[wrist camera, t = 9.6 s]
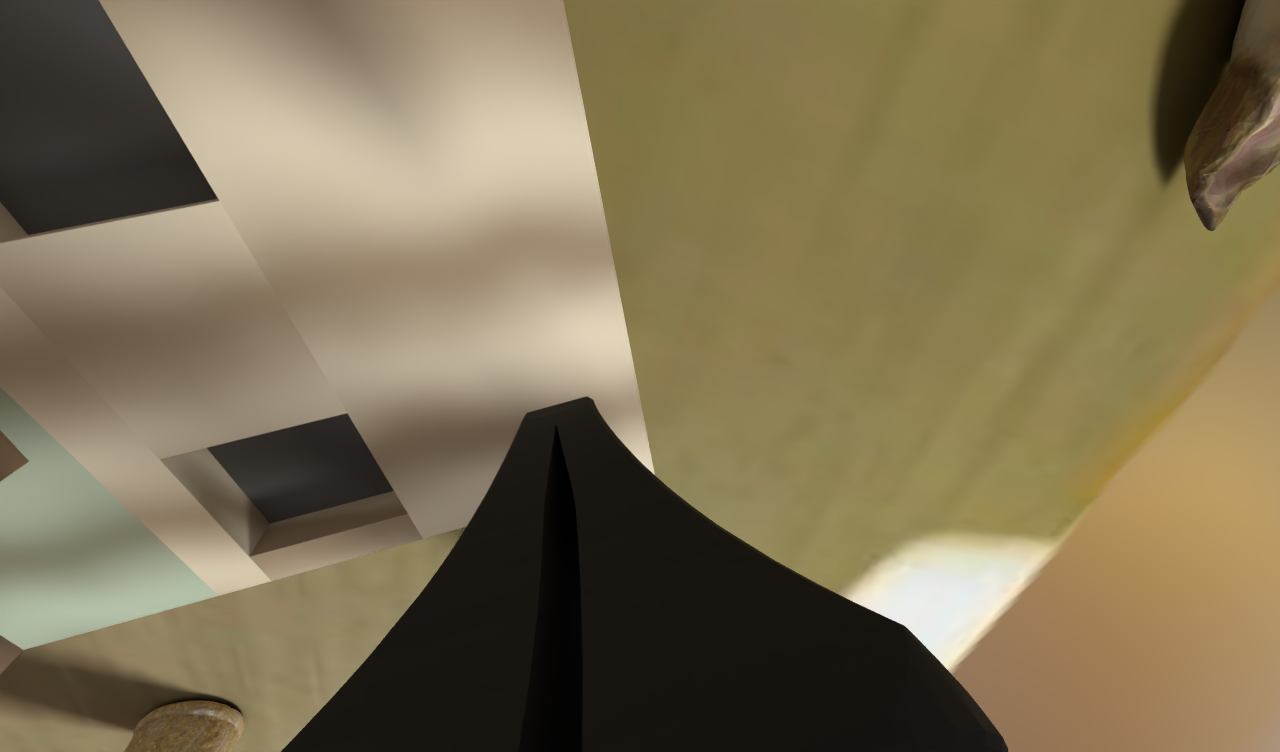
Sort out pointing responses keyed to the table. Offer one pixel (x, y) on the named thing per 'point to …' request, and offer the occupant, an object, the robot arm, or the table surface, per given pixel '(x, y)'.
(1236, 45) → the ceramic sculpture
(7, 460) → the walnut block
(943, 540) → the table surface
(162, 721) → the spice jar
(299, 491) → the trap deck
